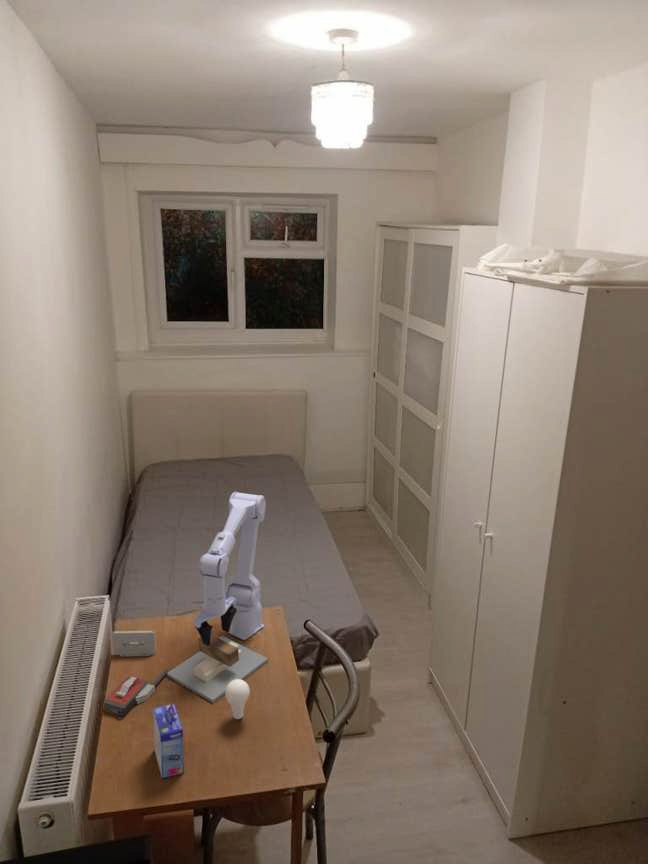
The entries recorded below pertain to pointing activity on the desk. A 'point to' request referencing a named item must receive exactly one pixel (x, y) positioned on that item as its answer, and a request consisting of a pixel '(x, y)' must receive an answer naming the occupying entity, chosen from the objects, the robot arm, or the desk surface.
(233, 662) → the walnut bar
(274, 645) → the desk surface
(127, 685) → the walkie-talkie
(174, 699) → the desk surface
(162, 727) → the ink cartridge box
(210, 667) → the ridge stand
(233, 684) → the lightbulb
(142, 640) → the cassette
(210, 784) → the desk surface
